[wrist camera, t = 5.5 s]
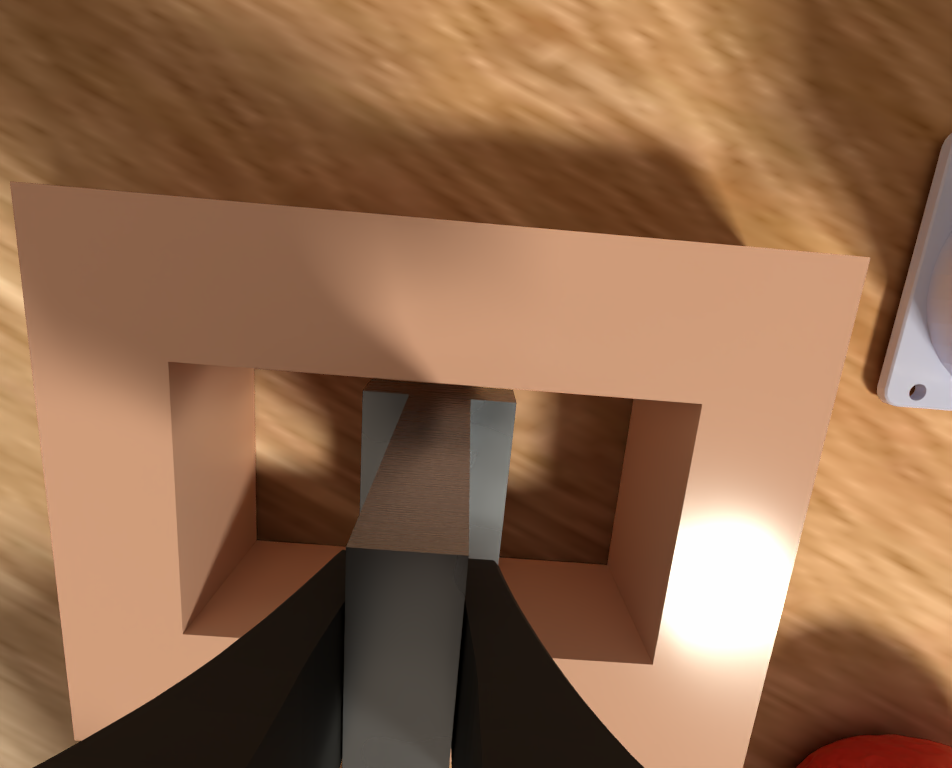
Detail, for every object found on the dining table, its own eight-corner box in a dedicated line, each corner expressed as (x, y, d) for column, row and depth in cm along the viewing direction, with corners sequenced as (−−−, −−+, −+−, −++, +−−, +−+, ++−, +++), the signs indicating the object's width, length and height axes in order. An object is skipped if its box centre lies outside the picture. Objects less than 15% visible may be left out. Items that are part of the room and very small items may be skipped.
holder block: (754, 260, 15) (870, 257, 11) (675, 656, 18) (739, 779, 14) (148, 207, 15) (9, 181, 10) (172, 624, 18) (74, 740, 13)
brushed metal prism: (512, 389, 14) (559, 562, 7) (496, 543, 16) (518, 835, 8) (371, 378, 14) (252, 541, 7) (367, 534, 16) (264, 821, 8)
